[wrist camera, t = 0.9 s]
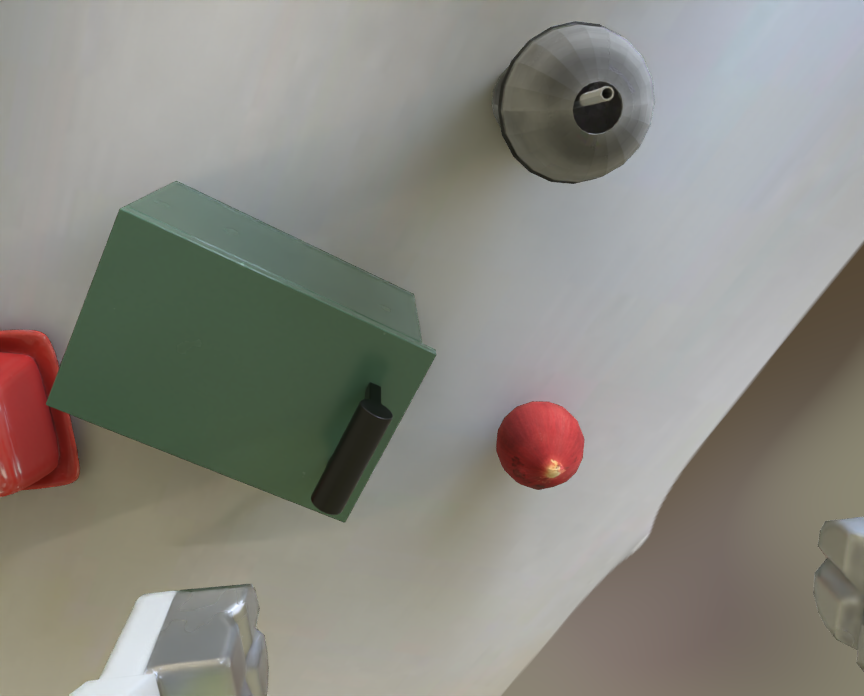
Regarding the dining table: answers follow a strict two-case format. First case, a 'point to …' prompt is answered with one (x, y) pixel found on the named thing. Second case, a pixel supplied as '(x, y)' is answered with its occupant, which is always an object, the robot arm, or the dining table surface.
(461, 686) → the dining table surface
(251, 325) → the green box lid
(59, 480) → the butter dish
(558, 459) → the onion
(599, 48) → the beverage cup
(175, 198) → the green box
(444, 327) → the dining table surface
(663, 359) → the dining table surface
